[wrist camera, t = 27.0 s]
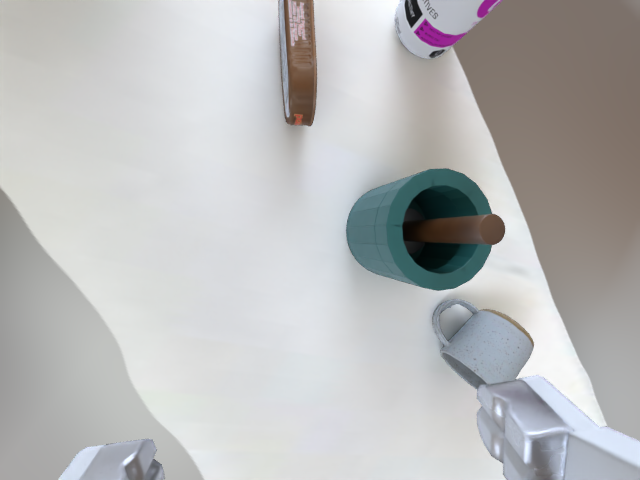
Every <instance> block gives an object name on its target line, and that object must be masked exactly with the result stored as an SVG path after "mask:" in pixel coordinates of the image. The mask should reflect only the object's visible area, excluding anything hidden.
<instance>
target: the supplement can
mask: <svg viewBox="0 0 640 480" xmlns="http://www.w3.org/2000/svg"><path fill="white" fill-rule="evenodd" d="M500 2H502V0H401V1H400V3H399V4H398V6H397V8H396V14H395V26H396V32H397V34H398V36H399V38H400V40H401V42H402V44H403V45H404V46H405V47H406V48H407V49H408V50H409V51H410V52H411V53H413V54H415V55H417V56H418V57H420V58H427V59H432V58H436V57H440V56H441V55H443V54H444V53H445V52H446V51H447V50H449V49H450V48H451V47H452V46H453V45H454V44H455V43H456V42H457V41H459V40H460V39H461V38H462V37H463V36H464V35H465V34H466V33H467V32H469V31H470V30H471V29H472V28H473V27H474V26H475V25H476V24H477V23H478V22H480V21H481V20H482V19H483V18H484V17H485V16H486V15H487V14H488V13H489V12H491V11H492V10H493V9H494V8H495V7H496V6H497V5H498V4H499V3H500Z"/></svg>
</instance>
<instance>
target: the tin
mask: <svg viewBox="0 0 640 480" xmlns="http://www.w3.org/2000/svg"><path fill="white" fill-rule="evenodd" d="M279 34H280V56H281V76H282V90H283V103H284V113H285V119H286V122H287V124H289V125H308V126H311V125H312V123H313V120H314V114H315V107H316V93H317V63H316V45H315V26H314V6H313V0H279Z"/></svg>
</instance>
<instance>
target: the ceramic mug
mask: <svg viewBox="0 0 640 480" xmlns="http://www.w3.org/2000/svg"><path fill="white" fill-rule="evenodd" d="M454 304H460V305H462V306H464V307H466V308H467V309H468V310H470V311H471V312H472V313H473V315H472V316H471V318H470V319H469V320H468V321H467V322H466V323H465V325H464V326H463V327H462V328H461V329H460V330H459V331H458V332H457V333H456V334H455V335H454V336H453V337H452V338H451V339H450V340H449V341H447V339H446V338H445V336H444V334H443V333H442V331H441V328H440V323H439V321H440V319H439V316H440V313H441V312H442V311H444V310H445V309H446V308H451V306H452V305H454ZM433 328H434V330H435V333H436V334H437V336H438V338H439V339H440V341H441V342H442V343H443V345H444V347H443V348H442V349H441V351H440V353H441V356H442V357H443V359H444V360H445V361H446V363H447V364H448V365H449V366H450V367H451V368H452V369H453V370H454V371H455V372H456V373H457V374H458V375H459V376H460V377H462V378H463V379H464V380H465V381H466V382H468V383H469V384H470V385H471V386H473V387H474V388H475V389H477V390H478V387H479V385H484V384H490V383H496V382H502V381H508V380H514V379H516V377H517V376H518V374H519V372H520V371H521V369H522V368H523V366H524V365H525V364H526V362H527V361H528V359H529V358H530V355H531V353H532V350H533V347H534V343H533V340H532V338H531V336H530V335H529V333H528V332H527V331H526V330H525V329H524V328H523V327H522V326H521V325H519V324H518V323H517V322H516V321H514V320H513V319H511V318H510V317H508V316H506V315H505V314H502V313H500V312H498V311H495V310H491V309H483V310H480V311H479V310H478V309H477V308H476V307H475V306H474V305H472V304H470V303H469V302H466V301H464V300H458V299H454V300H449V301H446V302H444V303H442V304H441V305H440V306H439V307H438V308H437V309H436V310H435V312H434V314H433Z"/></svg>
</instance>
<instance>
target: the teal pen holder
mask: <svg viewBox="0 0 640 480" xmlns="http://www.w3.org/2000/svg"><path fill="white" fill-rule="evenodd" d="M407 208H411V209H414V210H416V211H418V212H419V213H421V214H422V216H423V217H424V218H425V220H426V219H438V218H450V217H463V216H475V215H487V214H492V212H491V209H490V206H489V203H488V200H487V199H486V197H485V195H484V194H483V192H482V191H481V190H480V188H479V187H478V185H476V183H475V182H473V181H472V180H471V179H469V178H468V177H467V176H465V175H464V174H462V173H459V172H456V171H453V170H450V169H429V170H426V171H423V172H420V173H417V174H415V175H412V176H409V177H406V178H403V179H400V180H398V181H395V182H392V183H389V184H386V185H383V186H381V187H378V188H376V189H373V190H371V191H369V192H367V193H366V194H364V195H363V196H362V197H361V198H359V199H358V201H357V202H356V203H355V205H354V206H353V208H352V210H351V212H350V214H349V217H348V221H347V228H346V234H347V241H348V245H349V248H350V250H351V252H352V254H353V256H354V257H355V259H356V260H357V261H358V262H359V263H360V264H361V265H362V266H363V267H364V268H366V269H367V270H369V271H371V272H374V273H375V274H379V275H382V276H385V277H389V278H392V279H396V280H399V281H402V282H406V283H409V284H413V285H416V286H419V287H423V288H428V289H432V290H437V291H439V290H446V289H453V288H456V287H458V286H460V285H462V284H464V283H466V282H467V281H469V280H471V279H472V278H473V277H474V276H475V275H476V274H477V272H478V271H479V270H480V269H481V268H482V267H483V265H484V263H485V261H486V259H487V257H488V255H489V253H490V251H491V247H492V245H482V244H458V243H434V242H425V244H424V246H423V247H422V248H421V249H420V250H419V251H417V252H415V253H413V254H408V252H407V249H406V246H405V244H404V241H403V231H402V225H403V220H404V215H405V212H406V210H407Z"/></svg>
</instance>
